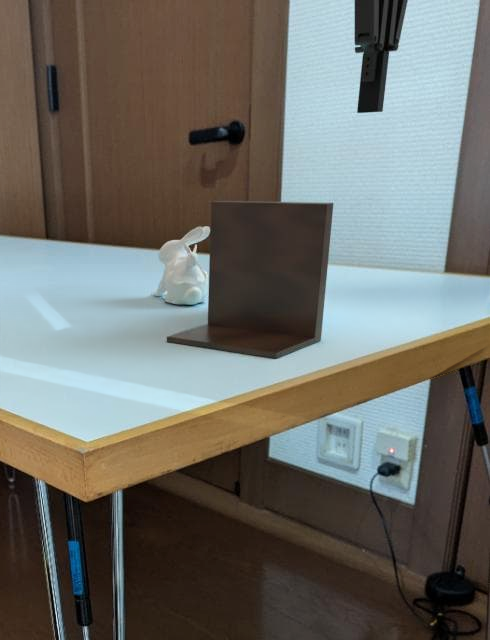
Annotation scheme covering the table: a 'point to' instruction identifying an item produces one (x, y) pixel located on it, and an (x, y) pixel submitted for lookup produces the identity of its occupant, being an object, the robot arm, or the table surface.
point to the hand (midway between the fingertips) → (369, 112)
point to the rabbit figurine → (183, 270)
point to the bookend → (265, 277)
